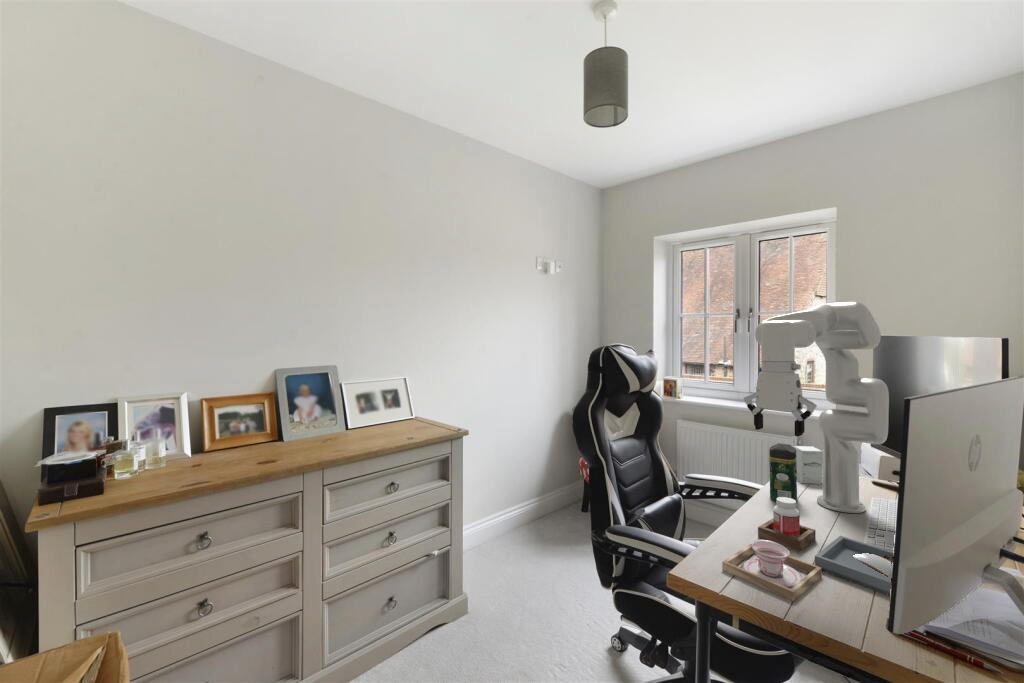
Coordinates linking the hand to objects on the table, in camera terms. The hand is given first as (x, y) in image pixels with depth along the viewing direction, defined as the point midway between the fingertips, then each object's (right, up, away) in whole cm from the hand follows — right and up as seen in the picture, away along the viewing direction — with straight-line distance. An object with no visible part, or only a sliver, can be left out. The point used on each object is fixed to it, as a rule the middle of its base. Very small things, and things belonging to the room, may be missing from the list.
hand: (778, 432), depth 115 cm
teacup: (-8, -32, -11) cm, 35 cm away
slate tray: (+15, -31, -11) cm, 36 cm away
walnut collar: (+6, -31, +6) cm, 32 cm away
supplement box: (+42, -29, +51) cm, 72 cm away
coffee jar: (+22, -30, +34) cm, 51 cm away
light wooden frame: (-8, -32, -11) cm, 34 cm away
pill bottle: (+6, -31, +6) cm, 32 cm away
